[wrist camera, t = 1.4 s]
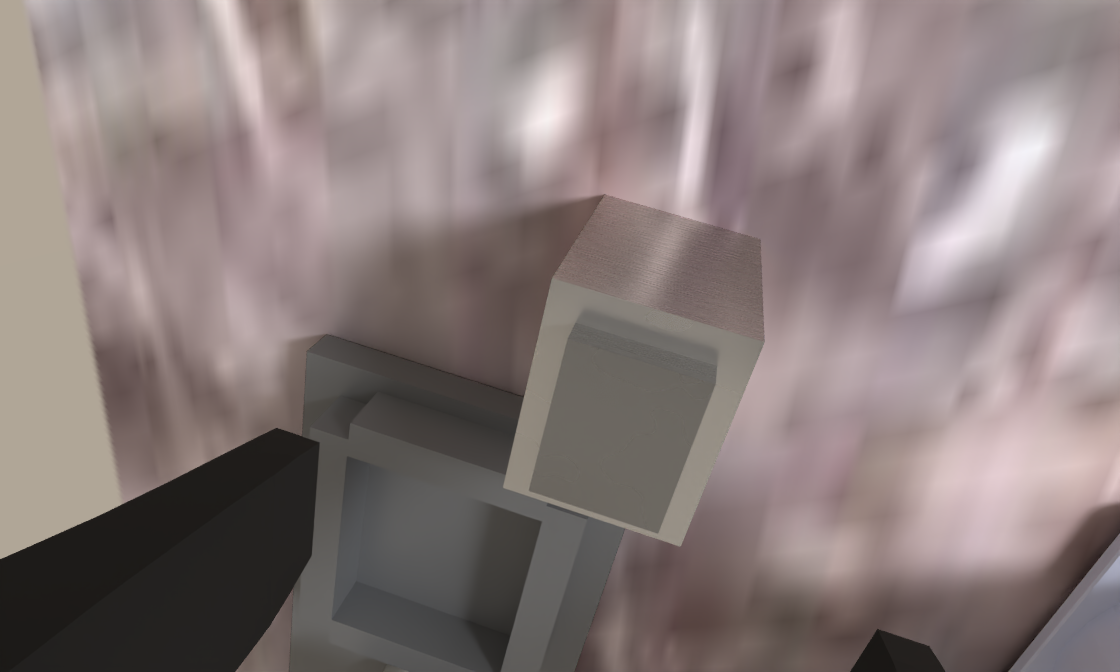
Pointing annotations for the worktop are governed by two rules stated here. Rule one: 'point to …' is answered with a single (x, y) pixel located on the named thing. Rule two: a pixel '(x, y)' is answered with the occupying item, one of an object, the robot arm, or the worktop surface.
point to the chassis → (433, 530)
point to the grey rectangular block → (639, 368)
